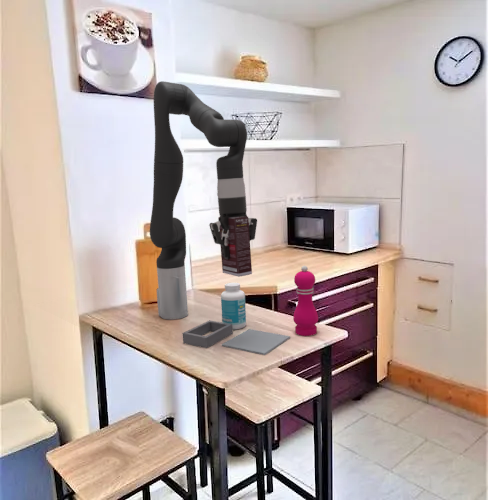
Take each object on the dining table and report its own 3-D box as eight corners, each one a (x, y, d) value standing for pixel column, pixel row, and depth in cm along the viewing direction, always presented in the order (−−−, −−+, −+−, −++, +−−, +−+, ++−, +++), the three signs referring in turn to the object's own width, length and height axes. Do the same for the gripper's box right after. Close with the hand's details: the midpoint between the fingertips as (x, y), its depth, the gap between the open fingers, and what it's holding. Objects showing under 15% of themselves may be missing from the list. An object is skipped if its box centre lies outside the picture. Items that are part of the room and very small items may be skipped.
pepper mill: (321, 335, 134) (320, 267, 131) (297, 337, 133) (295, 269, 129) (314, 327, 141) (312, 262, 138) (290, 329, 140) (288, 264, 136)
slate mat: (221, 346, 129) (221, 344, 129) (249, 330, 141) (249, 328, 141) (264, 355, 122) (264, 353, 122) (290, 337, 133) (290, 336, 133)
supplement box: (253, 274, 127) (249, 216, 125) (238, 277, 125) (234, 218, 122) (235, 270, 134) (231, 215, 132) (221, 272, 132) (217, 216, 129)
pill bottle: (243, 330, 141) (241, 287, 139) (219, 330, 142) (217, 287, 140) (248, 322, 148) (246, 281, 146) (225, 322, 150) (223, 281, 147)
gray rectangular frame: (183, 343, 133) (182, 333, 133) (210, 329, 143) (209, 320, 143) (206, 348, 128) (205, 337, 128) (232, 333, 139) (232, 324, 138)
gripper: (213, 198, 119) (218, 263, 122) (261, 193, 126) (265, 255, 129) (201, 197, 126) (206, 259, 129) (248, 193, 133) (251, 252, 135)
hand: (236, 257), depth 129 cm, fingers closed on supplement box, 5 cm apart
